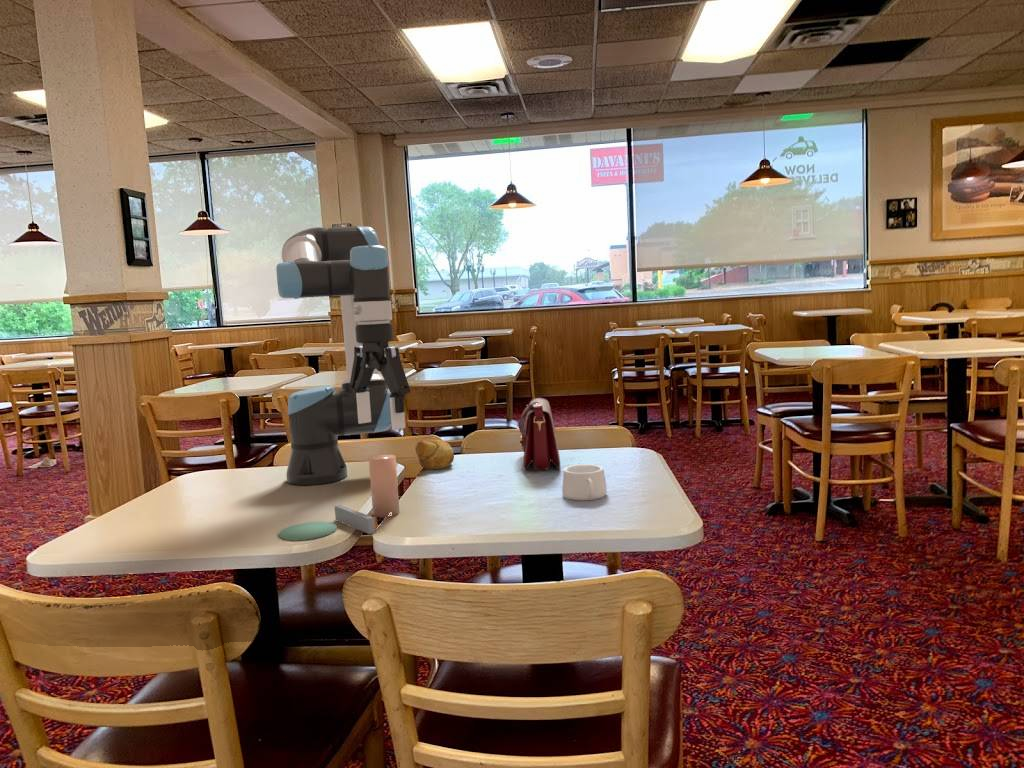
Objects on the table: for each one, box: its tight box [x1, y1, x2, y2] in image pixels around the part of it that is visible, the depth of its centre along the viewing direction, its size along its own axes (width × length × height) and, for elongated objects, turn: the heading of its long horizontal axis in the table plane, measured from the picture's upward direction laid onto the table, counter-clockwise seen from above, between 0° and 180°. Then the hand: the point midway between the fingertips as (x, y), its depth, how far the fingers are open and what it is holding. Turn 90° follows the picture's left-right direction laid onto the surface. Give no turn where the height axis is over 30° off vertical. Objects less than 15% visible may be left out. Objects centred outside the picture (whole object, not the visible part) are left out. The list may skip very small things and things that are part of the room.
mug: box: [561, 463, 608, 501], centre depth 163 cm, size 12×10×6 cm
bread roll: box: [415, 438, 455, 470], centre depth 202 cm, size 13×10×8 cm
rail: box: [334, 504, 376, 535], centre depth 150 cm, size 14×1×3 cm, turn 40°
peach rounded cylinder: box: [368, 454, 400, 518], centre depth 158 cm, size 6×6×12 cm
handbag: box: [518, 397, 561, 471], centre depth 199 cm, size 28×11×17 cm, turn 178°
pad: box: [278, 520, 338, 542], centre depth 148 cm, size 11×11×1 cm
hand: (381, 425), depth 156 cm, fingers open, 13 cm apart
